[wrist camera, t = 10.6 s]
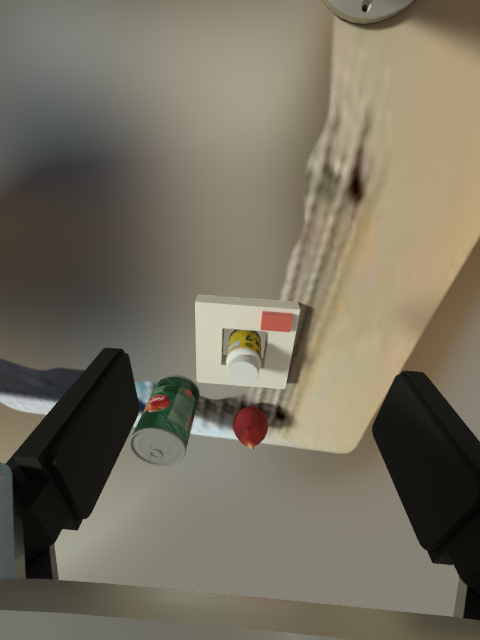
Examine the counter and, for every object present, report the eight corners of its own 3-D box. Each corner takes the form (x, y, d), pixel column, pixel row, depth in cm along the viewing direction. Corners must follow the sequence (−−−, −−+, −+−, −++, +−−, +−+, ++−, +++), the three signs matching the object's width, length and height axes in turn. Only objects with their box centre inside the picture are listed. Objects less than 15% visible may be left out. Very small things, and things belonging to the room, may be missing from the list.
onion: (231, 415, 49) (227, 456, 42) (238, 393, 46) (236, 432, 39) (261, 422, 49) (263, 463, 42) (271, 400, 46) (274, 440, 39)
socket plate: (198, 294, 37) (193, 305, 34) (297, 301, 37) (301, 313, 34) (199, 371, 44) (195, 386, 41) (283, 378, 44) (285, 393, 41)
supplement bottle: (266, 341, 41) (269, 377, 33) (243, 356, 42) (241, 394, 35) (246, 319, 39) (245, 353, 32) (223, 336, 41) (216, 372, 33)
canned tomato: (159, 369, 44) (133, 422, 35) (204, 382, 45) (191, 438, 36) (151, 401, 48) (125, 458, 38) (193, 413, 49) (178, 471, 39)
